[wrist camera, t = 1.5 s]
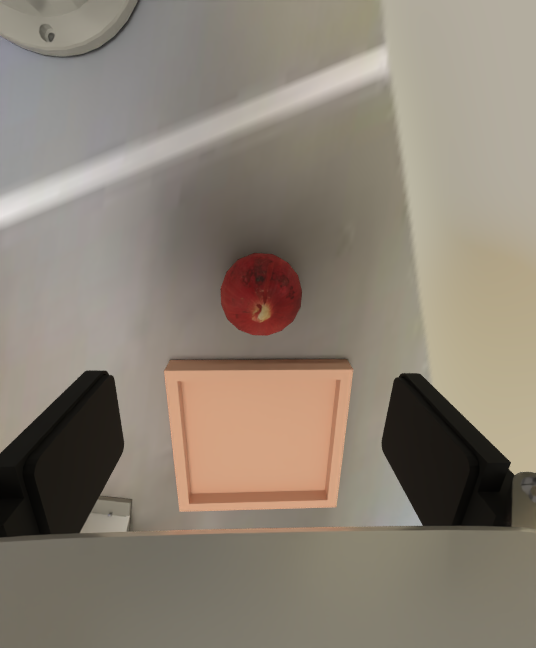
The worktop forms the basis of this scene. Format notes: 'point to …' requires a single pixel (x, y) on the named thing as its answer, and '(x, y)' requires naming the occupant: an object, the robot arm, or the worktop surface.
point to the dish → (258, 432)
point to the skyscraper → (109, 516)
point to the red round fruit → (261, 294)
